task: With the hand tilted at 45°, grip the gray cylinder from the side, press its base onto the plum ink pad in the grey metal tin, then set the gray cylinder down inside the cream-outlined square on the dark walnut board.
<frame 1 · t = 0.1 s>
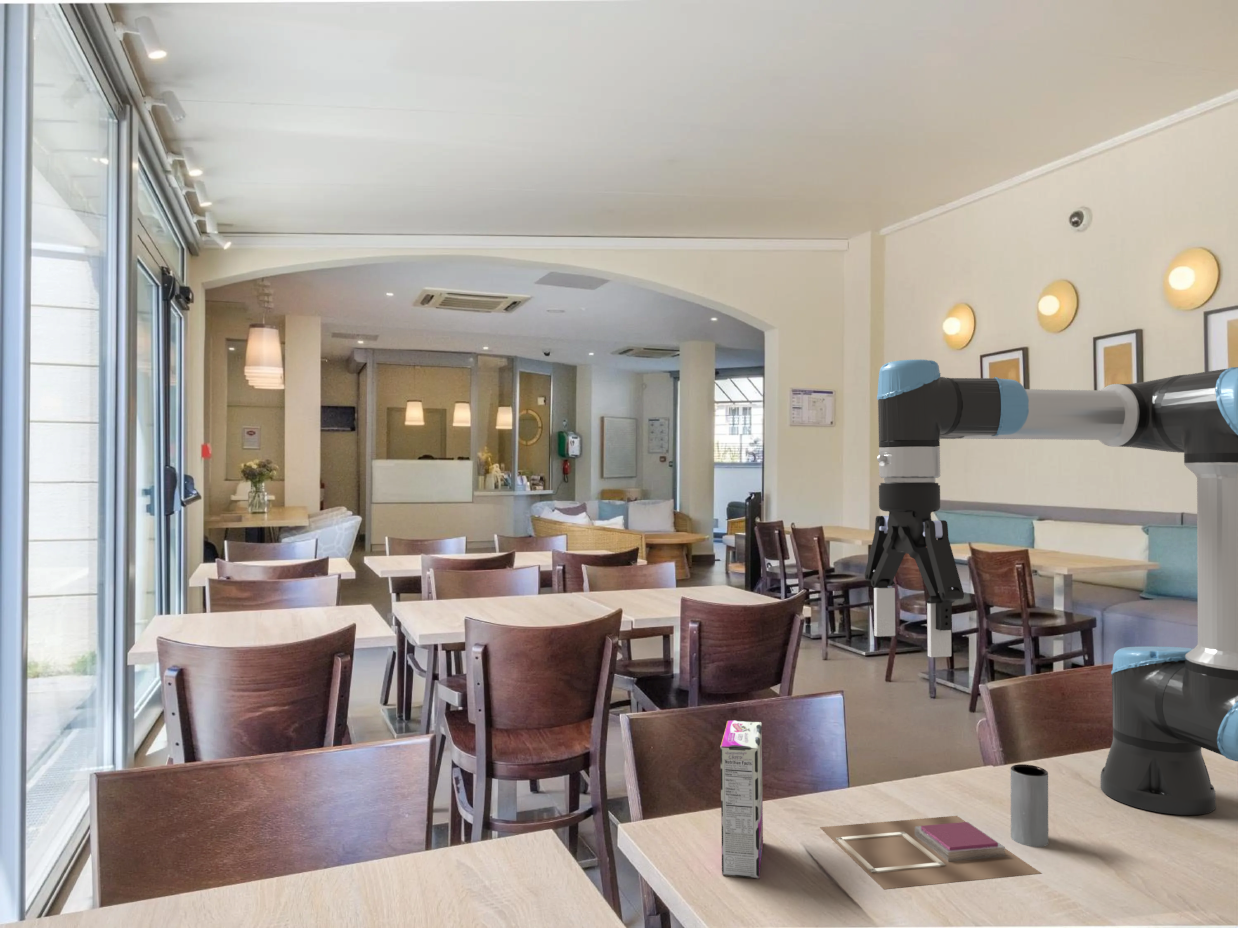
hand: (910, 645, 111), 28 cm above the table, tool pointing down, fingers open, 13 cm apart
walnut board: (924, 856, 113), on the table
ink pad: (958, 845, 114), resting on walnut board
candy bar box: (742, 860, 112), on the table
gray cylinder: (1029, 848, 116), on the table
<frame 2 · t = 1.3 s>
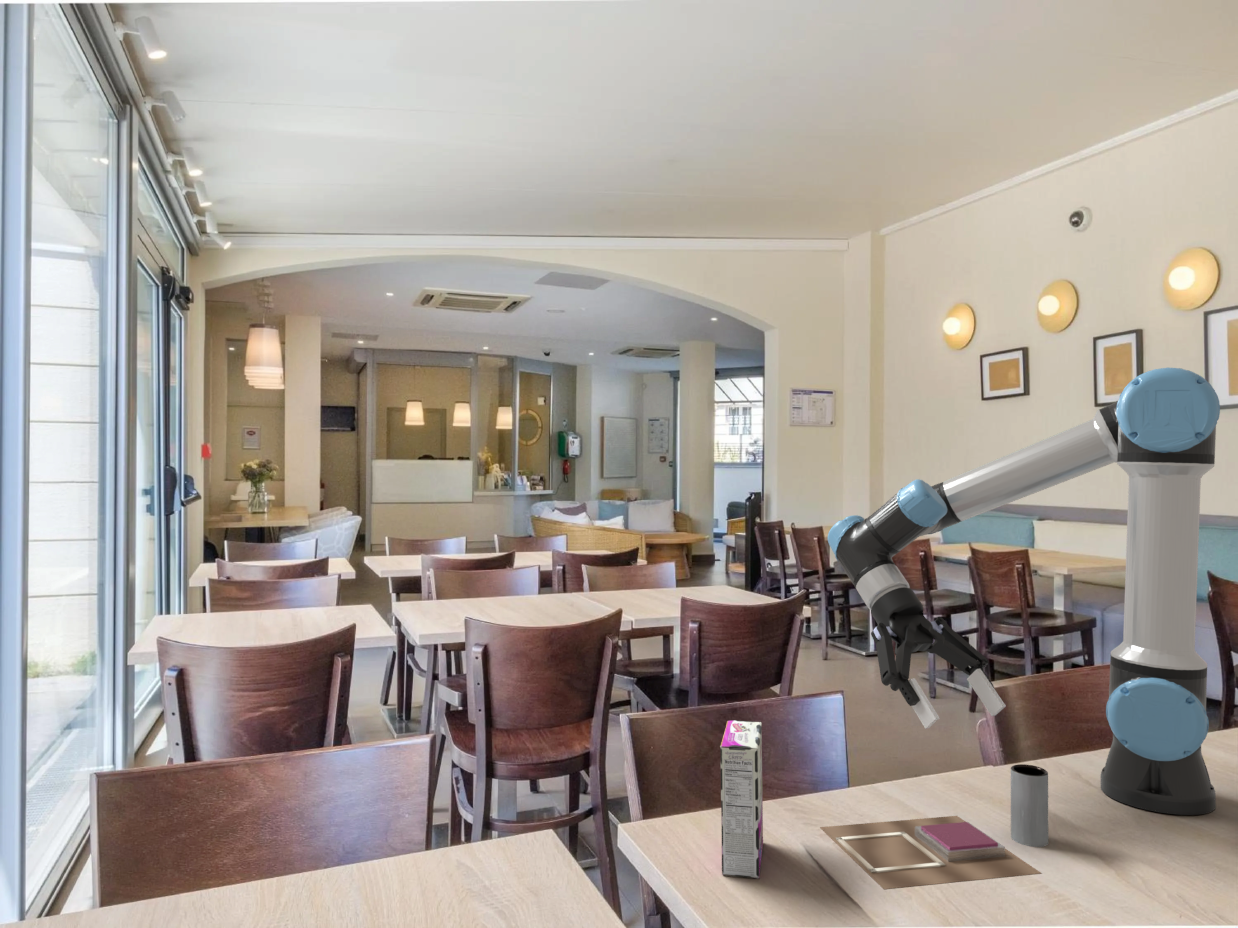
hand: (966, 717, 125), 15 cm above the table, tool tilted 45°, fingers open, 13 cm apart
nothing on the table moved.
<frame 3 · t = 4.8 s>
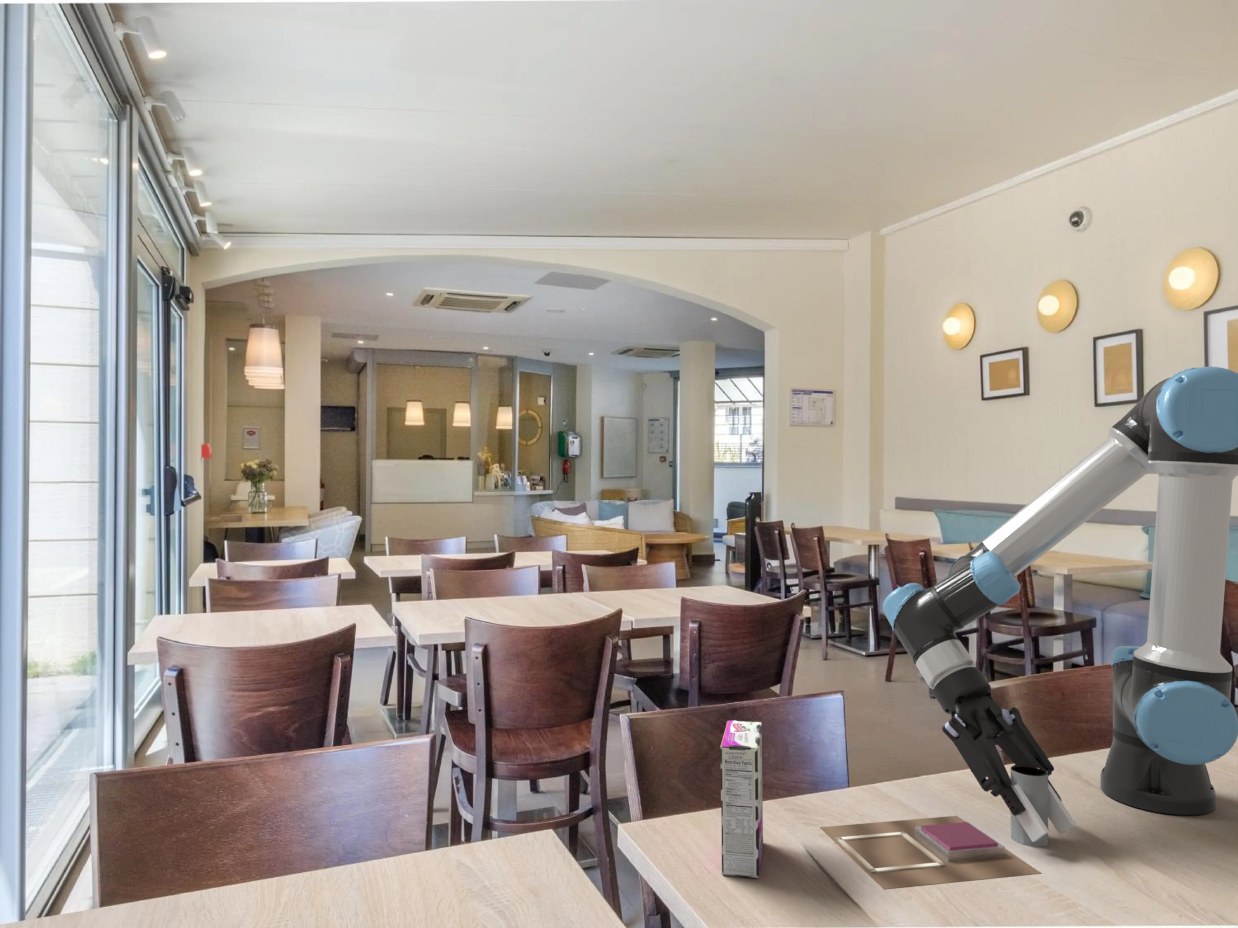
hand: (1054, 832, 112), 3 cm above the table, tool tilted 45°, fingers closed on gray cylinder, 4 cm apart
gray cylinder: (1029, 847, 116), on the table, touching gripper
everything else where it was.
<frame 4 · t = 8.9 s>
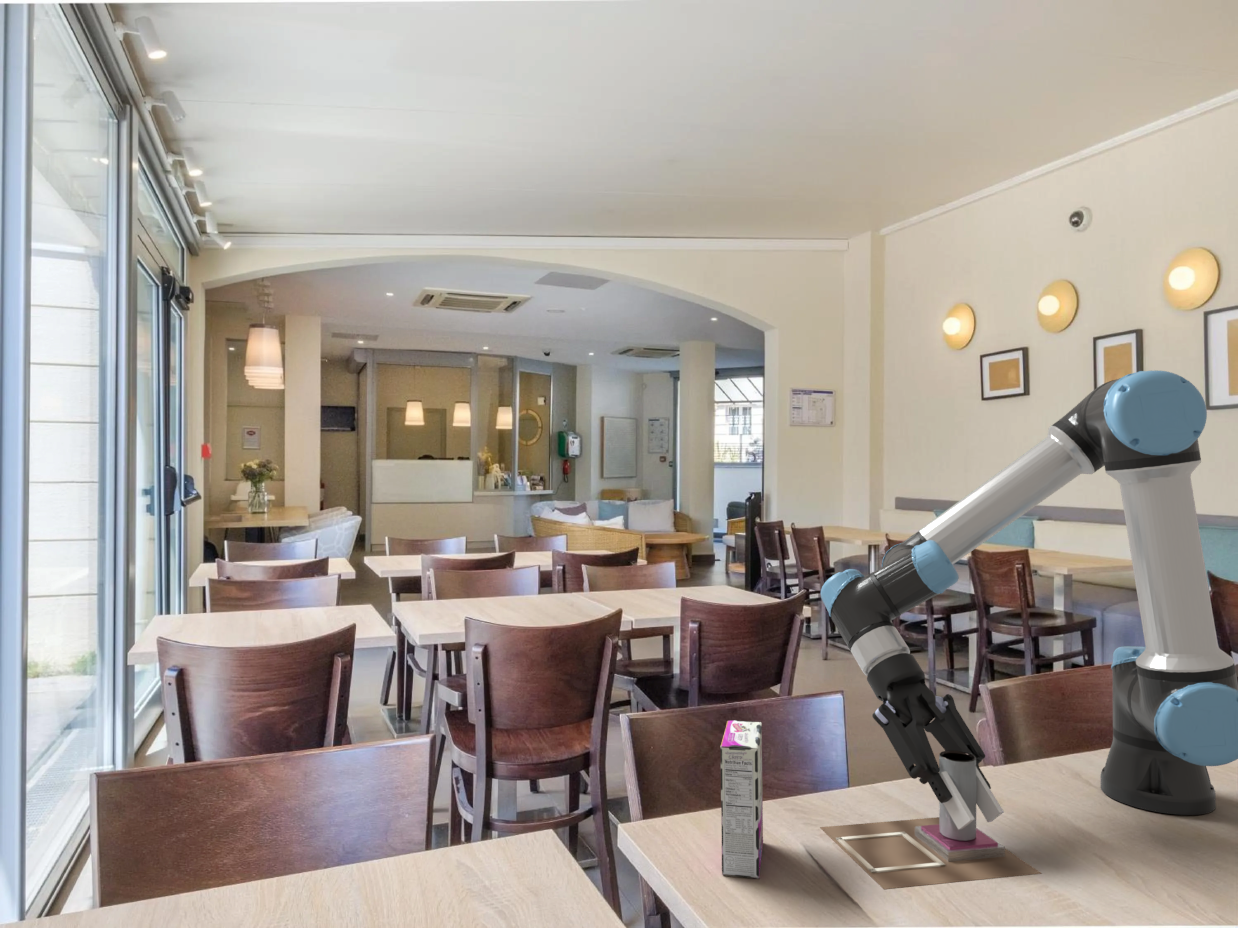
hand: (981, 820, 110), 6 cm above the table, tool tilted 45°, fingers closed on gray cylinder, 4 cm apart
gray cylinder: (957, 835, 114), point 2 cm above the table, touching gripper, ink pad
everything else where it was.
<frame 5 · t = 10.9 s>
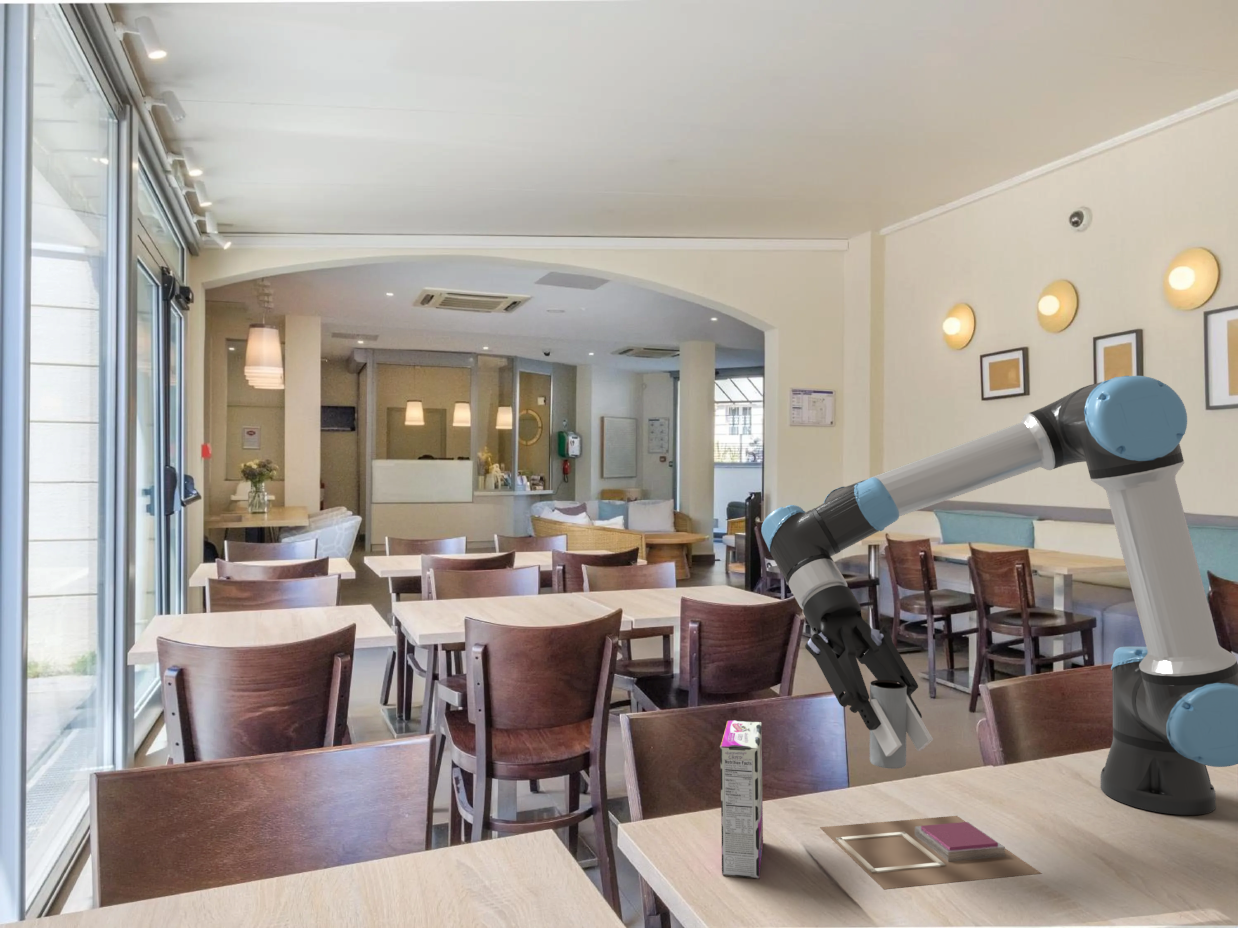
hand: (909, 747, 109), 16 cm above the table, tool tilted 45°, fingers closed on gray cylinder, 4 cm apart
gray cylinder: (887, 764, 112), point 12 cm above the table, touching gripper
everything else where it was.
when the fingers open (5 cm above the table, at t = 13.0 s): gray cylinder drops 1 cm, resting on walnut board.
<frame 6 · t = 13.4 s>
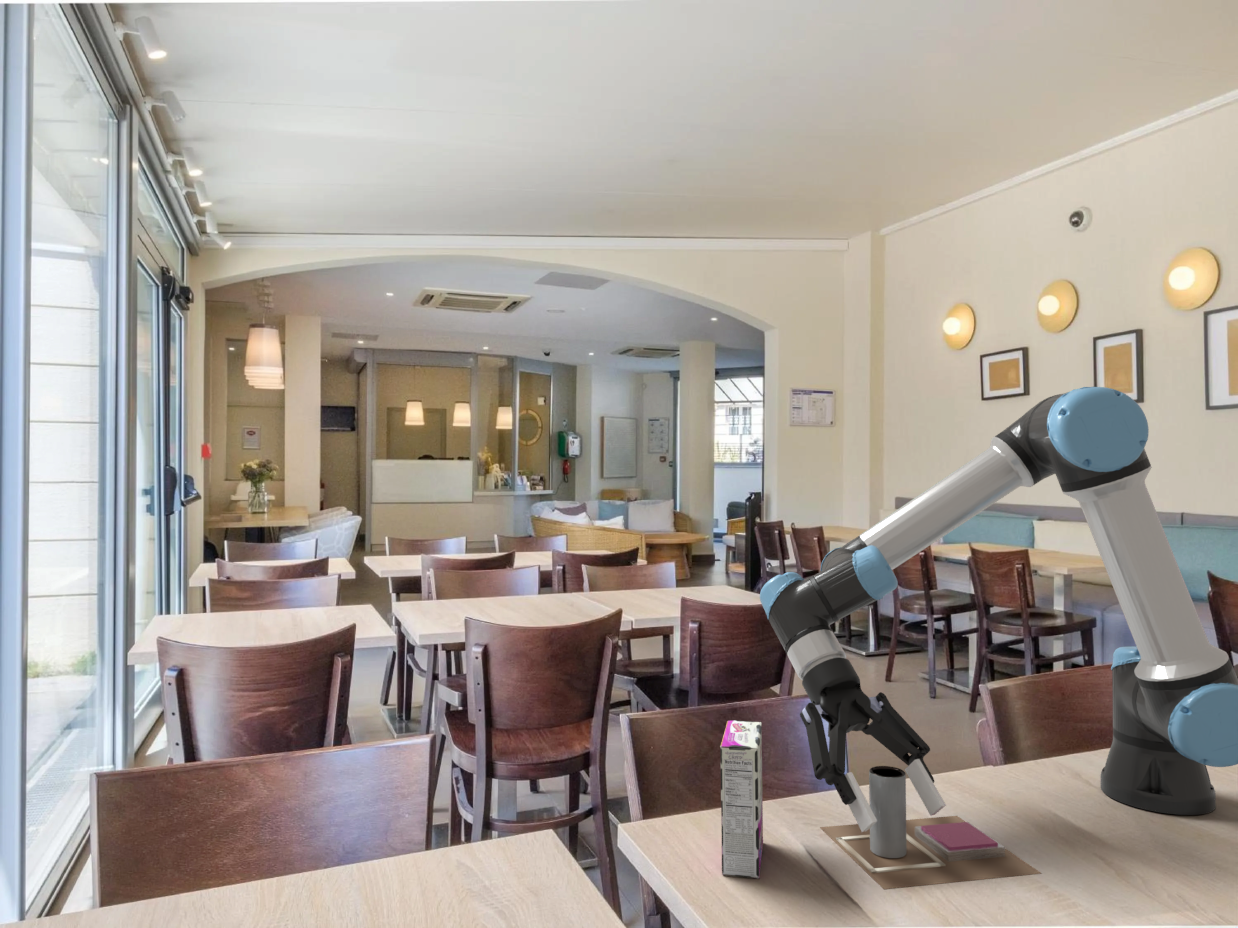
hand: (904, 818, 109), 6 cm above the table, tool tilted 45°, fingers open, 11 cm apart
gray cylinder: (888, 852, 112), point 1 cm above the table, touching walnut board
everything else where it was.
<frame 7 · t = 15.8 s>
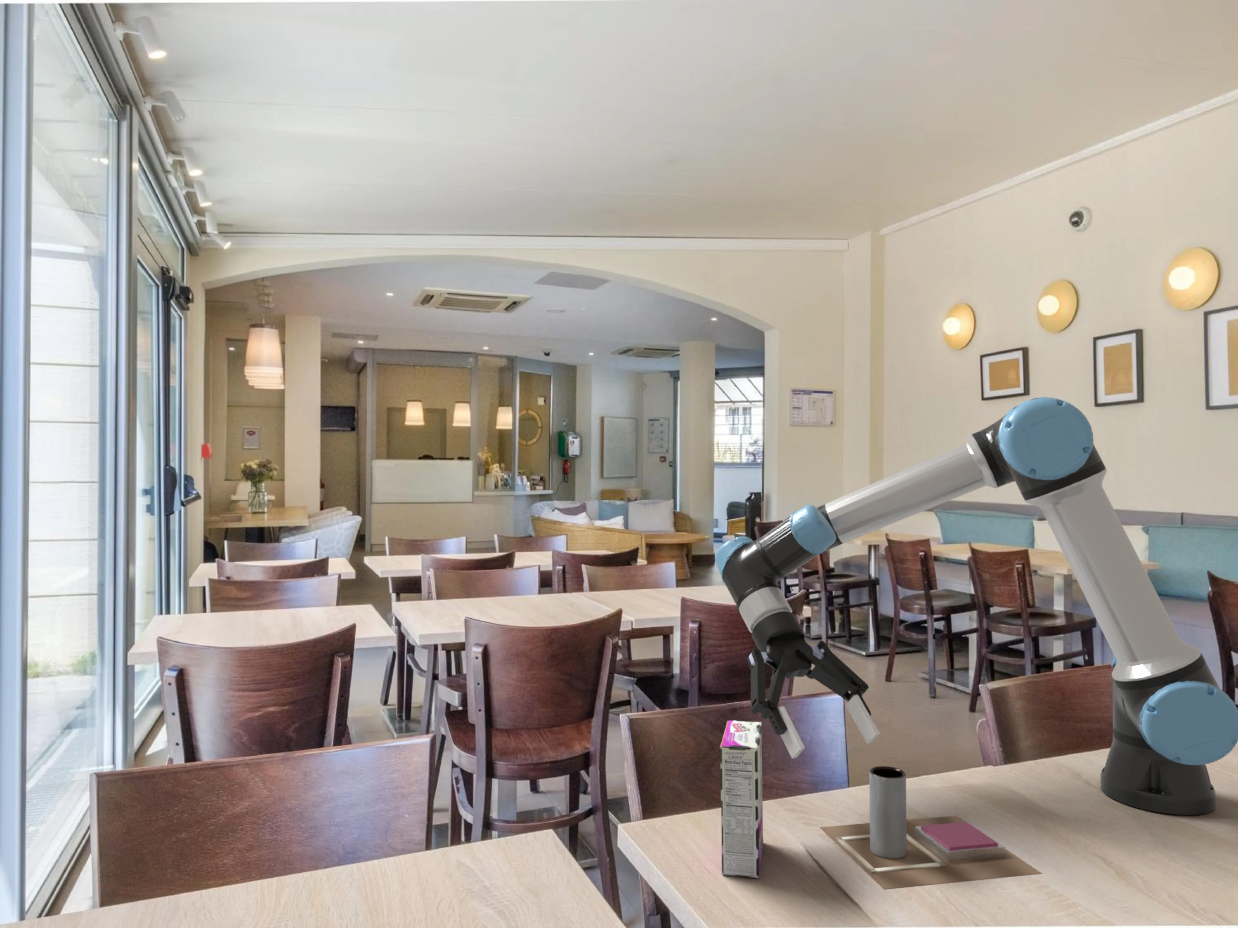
hand: (837, 746, 122), 11 cm above the table, tool tilted 45°, fingers open, 13 cm apart
nothing on the table moved.
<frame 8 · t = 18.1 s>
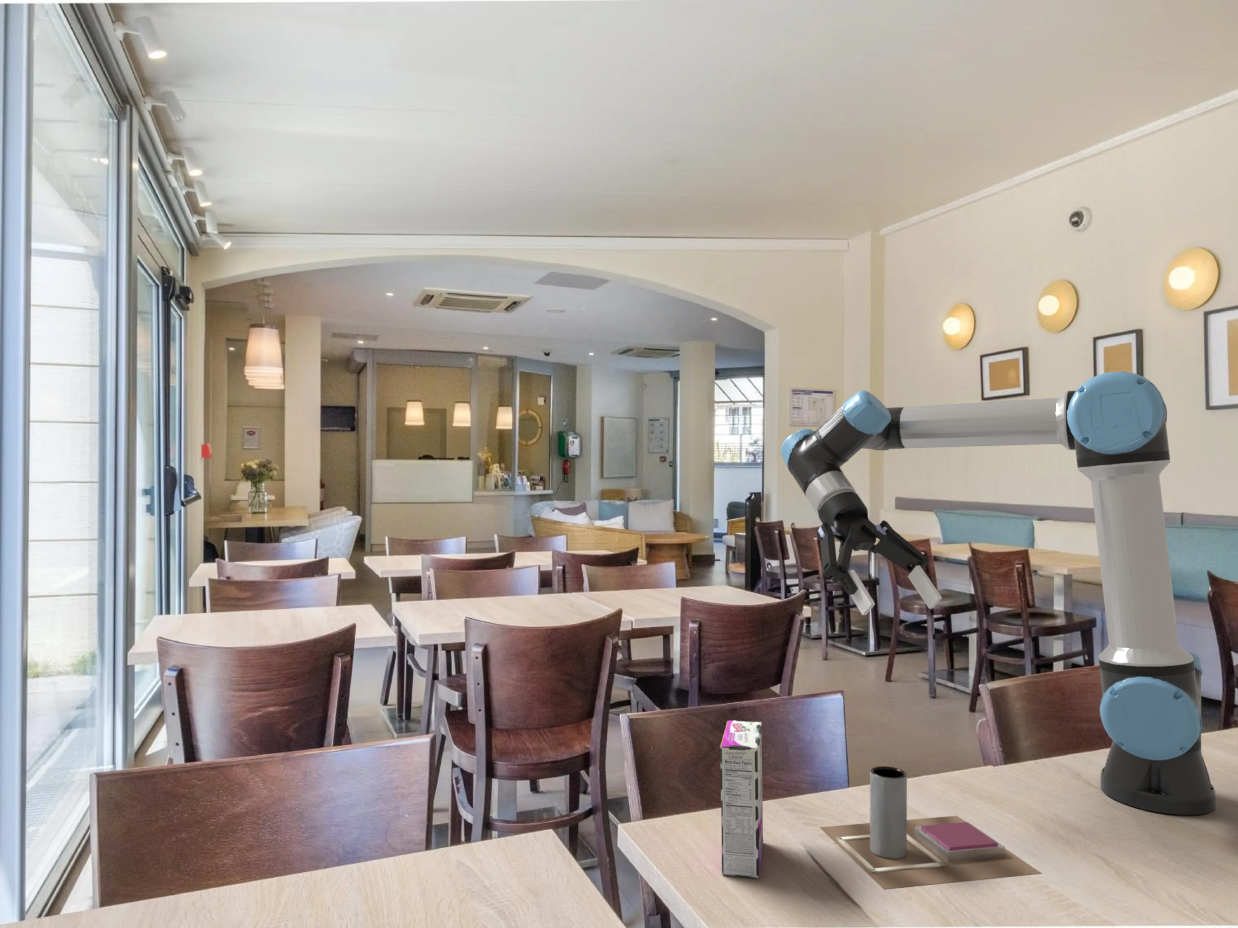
hand: (903, 606, 132), 30 cm above the table, tool tilted 45°, fingers open, 13 cm apart
nothing on the table moved.
at the end: gray cylinder 0.1 cm from the target spot, point 0.8 cm above the table; gray cylinder tilted 0°; the gripper is holding nothing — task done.
